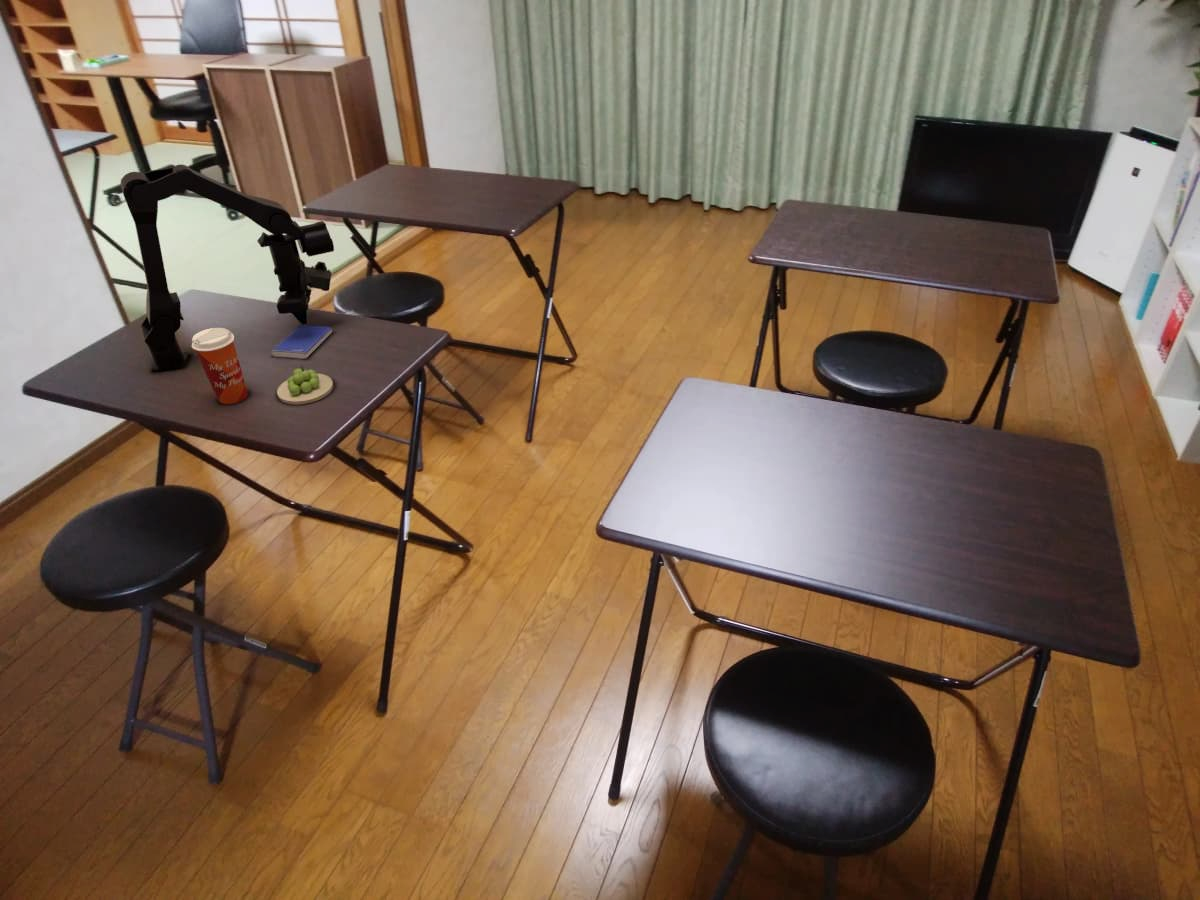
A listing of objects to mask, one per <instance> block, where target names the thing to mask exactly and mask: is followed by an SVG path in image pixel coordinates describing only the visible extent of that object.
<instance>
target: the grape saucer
mask: <svg viewBox="0 0 1200 900" xmlns="http://www.w3.org/2000/svg"><path fill="white" fill-rule="evenodd" d="M316 374H317V375H318V377H319V380H318V381H319V386H318V387H317V388H311V390H310V391H309V392H303V391H302V390H301V391H300V393H299V394H298V395H292V394H291V393H290V392H289V389H288V382H287V381H288V379H287V380H285V381H283V382H282V383H281V384H280V385H279V386H278V387H277V390H276V395H277V398H278V399H279V401H281V402H282V403H284V404H288V405H297V406H298V405H306V404H310V403H314V402H317V401H319V400H322V399H324V398H326V397H327V396H328V395H329V394H330V393H331V392H332V391H333V389H334V382H333V379H332V378H331V377H330V376H329V375H326V374H324V373H317V372H316ZM299 387H300V386H299Z"/></svg>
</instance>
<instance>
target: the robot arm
mask: <svg viewBox="0 0 1200 900" xmlns="http://www.w3.org/2000/svg"><path fill="white" fill-rule="evenodd" d="M120 189H121V191H122V196H123V197H124V201H125V202H126V205H127V208H128V210H129V213H130V215H131V217H132V220H133V222H134V225H135V231H136V235H137V241H138V246H139V251H140V255H141V261H142V266H143V271H144V276H145V281H146V296H145V297H146V300H145V303H146V304H145V305H146V306H145V311H146V316H145V318H144V319H143V321H142V322H141V324H140V329H141V334H142V337H143V341H144V343H145V344H146V345H147V347H148V350H149V351H150V354H151V356H152V360H153V361H154V362H153V364H152V366H151V368H150V371H151V372H159V371H168V370H175V369H183V368H184V367H185V366H186V363H187V360H188V359H189V355H190V354H189V352H188V351H185V352H183V351H182V349H181V346H180V343H179V341H178V339H177V336H176V333H177V331H179V330H180V328H181V322H182V321H184V319H185V318H184V316H183V314H182V311H181V308H182V307H181V300H180V297H179V295H178V292H177V291H176V292H170V291H169V285H168V280H167V276H166V270H165V263H164V259H163V254H162V249H161V242H160V237H159V231H158V226H157V225H158V224H157V223H158V212H159V204H158V203H159V202H160V201H163V200H166V199H168V198H171V197H172V196H174V195H176V194H178V193H181V192H183V191H184V192H185V191H188V192H191V193H194V194H196V195H198V196H200V197H203V198H205V199H207V200H209V201H212V202H214V203H217V204H219V205H221V206H223V207H225V208H227V209H230V210H232V211H235V212H237V213H239V214H241V215H243V216H244V217H247V218H248V219H249V220H251V221H252V222H254V223H255V224H256V225H257V226H259V227H261V228H263V229H264V230H266V231H267V232H269V234H268V233H266V232H264V231H263V232H262V233H261V235H260V236H259V238H257V243H258V244H259V246H260V247H261V248H266V247H268V248H269V252H270V255H271V259H272V262H273V266H274V269H273V273H274V275H275V276H277V280H278V283H279V284H278V285H279V286H278V290H279V292H280V293H283V294H281V295H280V296H279V297H278V299H277V302H276V308H277V312H278V314H280V315H284V314H285V315H286V314H291V315H292V316H294V318H295V319H296V320H297V321H298V322H299V323H300V325H306V326H307V324H308V310H309V306H310V305H309V304H310V301H311V294H312V289H317V290H321V291H324V292H329V291H330V286H331V279H332V271H331V270H330V268H329V269H328V267H327V264H326V262H323V261H317V262H316V264H315V265H311V266H306V264H305V261H303V259H301V256H300V252H301V254H306V256H307V257H314V256H318V255H324V254H327V253H333V252H334V251H335V247H334V241H333V238H332V237H331V234H330V231H329V230H328V227H327V224H326V223H325V222H324V221H323V220H320V221H317V222H314V223H310V224H304V225H299V223H298V222H297V221H296V220H293V219H292V217H291V215H290V213H289V212H288V211H287V210H286V209H285V207H284V206H283V204H281V203H279V202H277V201H275V200H271V199H268V198H264V197H258V196H253V195H250V194H246V193H245V192H244V193H243V192H241V191H239V190H237V189H235V188H233V187H231V186H229V185H227V184H224V183H221V182H220V181H217V180H216V179H214V178H210V177H209V176H207V175H204V174H202V173H200V172H198V171H196V170H193V169H192V168H190V167H189V166H188V165H185V164H176V165H173V166H170V167H165V168H158V169H154V170H149V171H146V172H140V171H129V172H128V173H125V175H123V176H122V178H121V179H120ZM297 244H298V245H297ZM299 250H300V252H299ZM311 288H312V289H311Z"/></svg>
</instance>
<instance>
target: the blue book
mask: <svg viewBox="0 0 1200 900" xmlns="http://www.w3.org/2000/svg"><path fill="white" fill-rule="evenodd" d="M332 333H333V329H332V327H330V326H319V325H318V326H317V325H307V324H306V325H302V324H300V325H298V326H297V327H296V328H295V329H294V330H293V331H291V333H289V334H288V335H287V336H286V337H285V338H284V339H282V340H281V342H280V343H278V344H277V345H276V346H275V347H274V348H273V349H272V350H271V355H272V356H273V357H278V358H291V359H303V360H305V359H307V358H308V357H309V356H310V355H311V354H312V353H314V351H315V350H316V349H317V348H318V347H320V345H321V344H322V343H323V342H324V341H325V340H326V339H327V338H328V337H329V336H330V335H331V334H332Z"/></svg>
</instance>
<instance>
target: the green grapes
mask: <svg viewBox="0 0 1200 900" xmlns="http://www.w3.org/2000/svg"><path fill="white" fill-rule="evenodd" d="M316 373H317V372H316V370H314V369H304V366H303V365H302V366H300V368H295V369H294V370H293V371H292V376H291V375H290V376H289V377H288V378H287V380H288V381H287V382H288V389H289V392H290V393H291V394H292V395H298V394H299V393H300V391H301V390H302V391H303V392H309V391H310V390H311V388H317V387H318V386H319V381H318V380H319V377H318V375H317V374H316ZM299 386H300V387H299Z"/></svg>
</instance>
